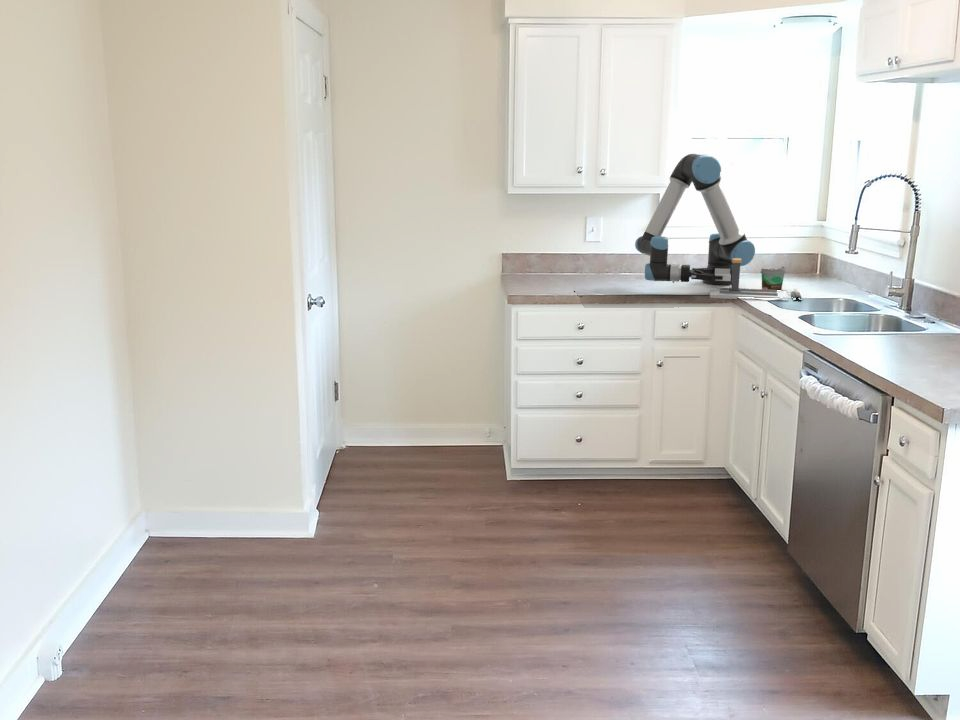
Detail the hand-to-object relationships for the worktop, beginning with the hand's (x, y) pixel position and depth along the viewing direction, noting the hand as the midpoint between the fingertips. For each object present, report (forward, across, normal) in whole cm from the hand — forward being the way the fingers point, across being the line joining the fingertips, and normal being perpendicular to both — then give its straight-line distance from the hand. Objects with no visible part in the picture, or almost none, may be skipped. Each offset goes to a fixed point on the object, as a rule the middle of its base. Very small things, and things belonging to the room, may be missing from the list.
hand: (730, 274), depth 382 cm
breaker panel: (+8, 0, -9) cm, 12 cm away
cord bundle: (+28, -1, -9) cm, 29 cm away
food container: (+20, -15, -9) cm, 27 cm away
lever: (+2, 0, -7) cm, 8 cm away
